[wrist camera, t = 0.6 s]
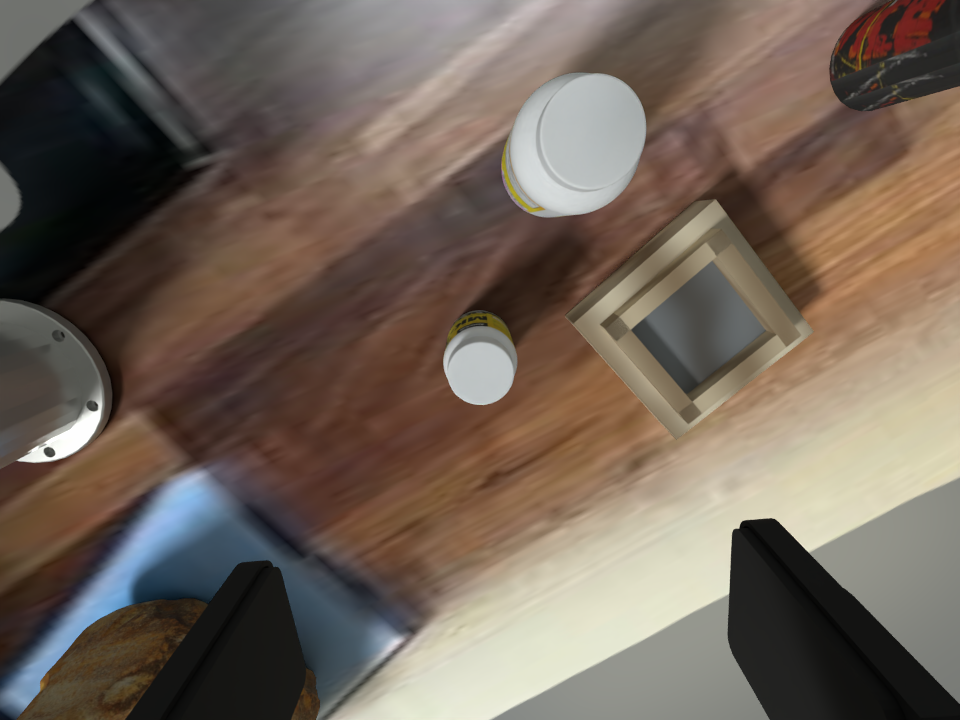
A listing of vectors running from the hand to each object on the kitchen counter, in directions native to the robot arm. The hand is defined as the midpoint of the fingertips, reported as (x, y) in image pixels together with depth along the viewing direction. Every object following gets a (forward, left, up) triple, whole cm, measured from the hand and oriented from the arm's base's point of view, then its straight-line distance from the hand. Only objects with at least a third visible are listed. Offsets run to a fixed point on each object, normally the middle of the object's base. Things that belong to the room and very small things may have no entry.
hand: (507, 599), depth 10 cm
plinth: (+11, -10, -27) cm, 31 cm away
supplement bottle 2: (+11, +5, -27) cm, 30 cm away
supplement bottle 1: (-1, -1, -27) cm, 27 cm away
